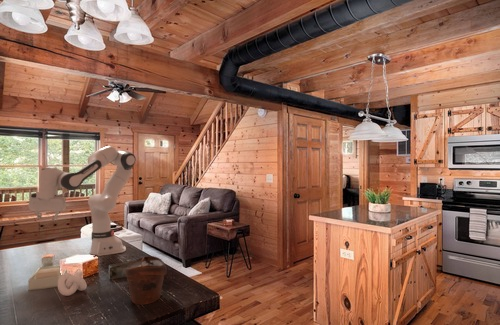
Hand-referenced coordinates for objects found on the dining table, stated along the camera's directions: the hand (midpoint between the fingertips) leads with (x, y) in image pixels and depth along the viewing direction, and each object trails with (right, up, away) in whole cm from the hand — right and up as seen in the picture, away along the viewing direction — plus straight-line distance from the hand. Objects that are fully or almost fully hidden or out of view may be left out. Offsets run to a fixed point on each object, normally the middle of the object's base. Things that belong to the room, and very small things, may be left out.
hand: (47, 218), depth 171 cm
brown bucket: (+70, -30, -35) cm, 84 cm away
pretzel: (+33, -30, -30) cm, 53 cm away
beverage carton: (+50, -30, -8) cm, 59 cm away
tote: (+15, -29, -19) cm, 37 cm away
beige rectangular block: (+16, -28, -23) cm, 40 cm away
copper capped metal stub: (+6, -29, -7) cm, 30 cm away
